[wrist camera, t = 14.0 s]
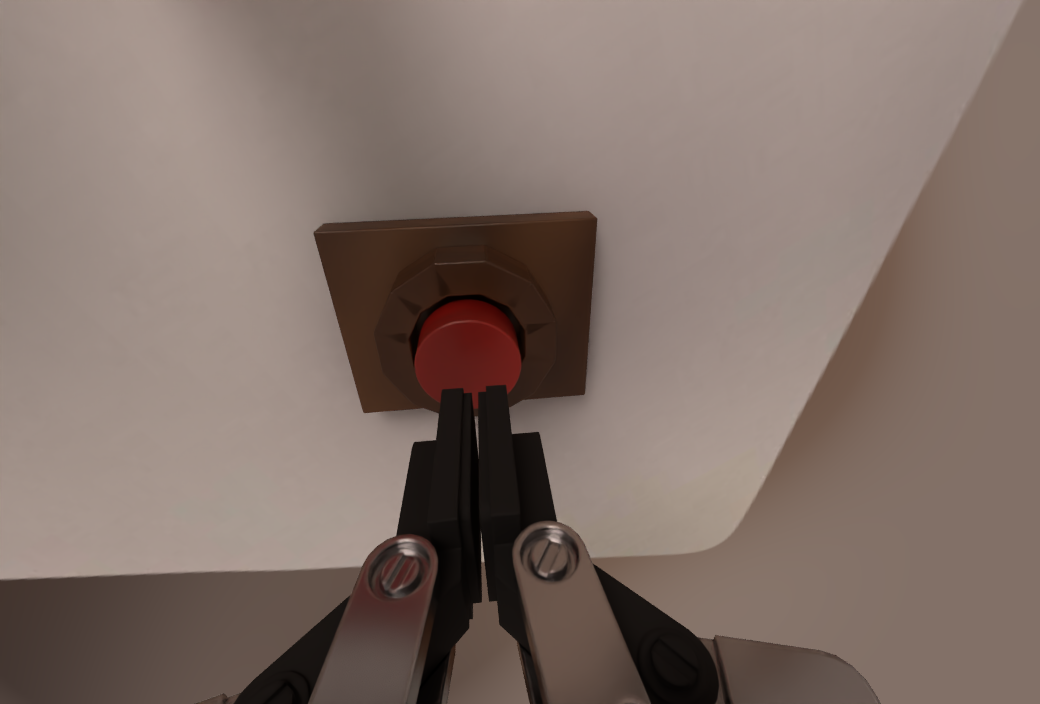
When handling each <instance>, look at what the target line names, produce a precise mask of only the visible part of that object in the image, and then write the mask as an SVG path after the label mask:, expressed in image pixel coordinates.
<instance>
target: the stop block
mask: <svg viewBox="0 0 1040 704" xmlns="http://www.w3.org/2000/svg"><path fill="white" fill-rule="evenodd" d="M596 230H597V218H596V217H595V216H594V215H593V214H592V213H591V212H589V211H578V212H558V213H537V214H516V215H495V216H475V217H454V218H433V219H412V220H391V221H371V222H350V223H329V224H323V225H322V226H320V227H319V228H318V229H317V230H316V231H314V237H315V240H316V244H317V248H318V251H319V255H320V258H321V262H322V265H323V269H324V273H325V276H326V280H327V283H328V287H329V291H330V294H331V298H332V301H333V305H334V309H335V312H336V316H337V319H338V323H339V327H340V330H341V334H342V337H343V341H344V345H345V348H346V352H347V355H348V359H349V363H350V366H351V370H352V373H353V377H354V381H355V384H356V388H357V391H358V395H359V399H360V402H361V406H362V409H363V412H364V413H371V412H383V411H395V410H407V409H419V408H425V409H428V410H431V411H434V412H437V413H439V410H440V403H439V402H438V401H436V400H434V399H433V398H432V397H430V396H429V395H428V394H427V393H426V392H425V391H424V389H423V388H422V387H421V385H420V383H419V382H418V379H417V377H416V373H415V367H414V361H415V355H416V350H417V346H418V341H419V336H420V332H421V329H422V326H423V324H424V322H425V321H426V319H427V318H428V317H429V315H430V314H431V313H433V312H434V311H435V310H436V309H438V308H439V307H441V306H443V305H444V304H447V303H449V302H452V301H456V300H463V299H473V300H479V301H483V302H486V303H489V304H491V305H493V306H495V307H497V308H498V309H500V310H501V311H502V312H503V313H504V314H506V316H507V317H508V318H509V319H510V321H511V322H512V324H513V326H514V329H515V332H516V336H517V340H518V345H519V350H520V355H521V372H520V376H519V379H518V381H517V383H516V385H515V386H514V387H513V389H512V390H511V391H510V392H509V393H508V394H507V396H508V405H509V407H511V406H513V405H515V404H517V403H518V402H520V401H522V400H527V399H539V398H551V397H563V396H575V395H584V394H585V384H586V370H587V356H588V342H589V328H590V314H591V300H592V286H593V272H594V258H595V244H596ZM475 416H478V409H474V417H475Z"/></svg>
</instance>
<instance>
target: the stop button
mask: <svg viewBox="0 0 1040 704" xmlns="http://www.w3.org/2000/svg"><path fill="white" fill-rule="evenodd" d="M414 367H415V373H416V377H417V379H418V382H419V383H420V385H421V387H422V388H423V389H424V391H425V392H426V393H427V394H428V395H429V396H430V397H432V398H433V399H434V400H436V401H438V402H439V403H440V401H441V392H442V389H452V388H463V389H464V393H472V400H473V409H478V392H486V386H493V385H506V387H507V394H508V393H509V392H510V391H511V390H512V389H513V387H514V386H515V385H516V383H517V381H518V379H519V376H520V372H521V355H520V350H519V345H518V340H517V336H516V332H515V329H514V326H513V324H512V322H511V321H510V319H509V318H508V317H507V316H506V314H504V313H503V312H502V311H501V310H500V309H498V308H497V307H495V306H493V305H491V304H489V303H486V302H483V301H479V300H473V299H463V300H456V301H452V302H449V303H447V304H444V305H443V306H441V307H439V308H438V309H436V310H435V311H434V312H433V313H431V314H430V315H429V317H428V318H427V319H426V321H425V322H424V324H423V326H422V329H421V332H420V336H419V341H418V346H417V350H416V355H415V361H414Z"/></svg>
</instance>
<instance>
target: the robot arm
mask: <svg viewBox="0 0 1040 704" xmlns="http://www.w3.org/2000/svg"><path fill="white" fill-rule="evenodd" d="M478 436H479V458H478V448H477V438H476V429H475V419H474V409H473V400H472V393H464V389H463V388H452V389H442V392H441V401H440V410H439V419H438V428H437V437H436V440H433V441H421V442H414V444H413V447H412V451H411V457H410V462H409V468H408V473H407V479H406V485H405V490H404V496H403V501H402V507H401V512H400V518H399V524H398V529H397V535H396V536H395V537H392V538H390V539H387V540H386V541H384V542H383V543H381V544H380V545H378V546H377V547H376V548H375V549H374V550H373V551H372V552H371V553H370V554H369V555H368V557H367V559H366V560H365V562H364V564H363V566H362V568H361V571H360V573H359V576H358V578H357V581H356V583H355V586H354V588H353V591H352V593H351V595H350V596H349V597H348V598H346V599H345V600H344V601H343V602H342V603H341V604H340V605H338V606H337V607H336V608H335V609H334V610H333V611H332V612H330V613H329V614H328V615H327V616H326V617H325V618H324V619H322V620H321V621H320V622H319V623H318V624H317V625H316V626H314V627H313V628H312V629H311V630H310V631H309V632H308V633H307V634H305V635H304V636H303V637H302V638H301V639H300V640H299V641H297V642H296V643H295V644H294V645H293V646H292V647H291V648H289V649H288V650H287V651H286V652H285V653H284V654H283V655H282V656H280V657H279V658H278V659H277V660H276V661H275V662H273V664H271V665H270V666H269V667H268V668H267V669H266V670H264V671H263V672H262V673H261V674H260V675H259V676H258V677H256V678H255V679H254V680H253V681H252V682H251V683H250V684H249V685H248V686H247V687H246V688H245V689H244V690H243V692H241V693H239V694H236V695H233V696H231V697H227V696H226V695H225V694H224V693H223V694H220V695H218V696H215V697H212V698H210V699H207V700H204V701H201V702H198V703H196V704H447V699H448V694H449V687H450V681H451V675H452V670H453V663H454V657H455V644H456V643H457V642H458V641H459V639H460V638H461V637H462V636H463V635H464V634H465V632H466V631H467V630H468V629H469V619H473V603H480V602H482V582H481V534H482V543H483V552H484V561H485V569H486V578H487V587H488V596H489V601H497V603H498V613H499V624H500V626H502V627H503V628H504V629H505V630H506V631H507V632H508V633H509V634H510V635H512V637H513V638H515V639H516V640H517V646H518V651H519V656H520V660H521V665H522V669H523V674H524V679H525V683H526V688H527V692H528V697H529V702H530V704H881V703H880V701H879V699H878V697H877V696H876V694H875V693H874V691H873V689H872V688H871V686H870V685H869V683H868V682H867V680H866V679H865V678H864V677H863V676H862V675H861V674H860V673H859V672H858V671H857V670H856V669H855V668H854V667H853V666H852V665H850V664H848V663H846V662H845V661H844V660H842V659H841V658H839V657H837V656H836V655H833V654H830V653H827V652H824V651H820V650H815V649H808V648H801V647H794V646H787V645H780V644H773V643H766V642H760V641H753V640H746V639H739V638H731V637H725V636H719V635H715V637H714V639H713V640H712V639H706V638H699V637H696V636H695V635H694V634H693V633H692V632H691V631H689V630H688V629H686V628H685V627H684V626H683V625H681V624H680V623H678V622H677V621H675V620H674V619H672V618H671V617H669V616H668V615H667V614H665V613H663V612H662V611H661V610H659V609H658V608H656V607H655V606H654V605H652V604H651V603H649V602H648V601H646V600H645V599H643V598H642V597H641V596H639V595H638V594H636V593H635V592H633V591H632V590H630V589H629V588H628V587H626V586H625V585H623V584H622V583H620V582H619V581H617V580H616V579H615V578H613V577H611V576H610V575H609V574H607V573H606V572H604V571H603V570H601V569H600V568H598V567H597V566H596V565H594V564H593V563H592V561H591V559H590V556H589V554H588V551H587V549H586V547H585V544H584V543H583V541H582V539H581V538H580V536H579V535H578V534H577V533H576V532H575V531H574V530H573V529H572V528H571V527H569V526H567V525H564V524H562V523H560V522H557V519H556V514H555V509H554V504H553V499H552V494H551V489H550V484H549V479H548V473H547V468H546V463H545V458H544V453H543V448H542V443H541V438H540V434H539V432H532V433H519V434H512V432H511V423H510V414H509V405H508V396H507V387H506V385H493V386H486V392H478Z"/></svg>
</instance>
